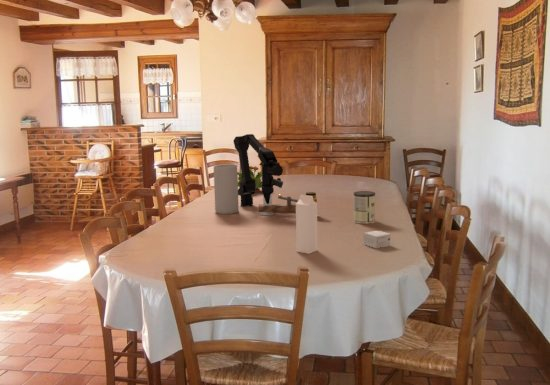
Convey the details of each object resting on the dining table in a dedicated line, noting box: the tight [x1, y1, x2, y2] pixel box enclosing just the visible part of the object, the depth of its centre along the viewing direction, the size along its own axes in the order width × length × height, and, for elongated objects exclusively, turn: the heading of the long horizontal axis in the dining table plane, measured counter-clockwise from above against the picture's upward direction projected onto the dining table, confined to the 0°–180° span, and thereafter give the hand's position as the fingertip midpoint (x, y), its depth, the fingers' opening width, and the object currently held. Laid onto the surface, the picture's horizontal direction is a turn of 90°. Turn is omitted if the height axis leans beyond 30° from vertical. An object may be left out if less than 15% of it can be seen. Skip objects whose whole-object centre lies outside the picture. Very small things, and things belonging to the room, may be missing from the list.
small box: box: [362, 229, 391, 249], centre depth 215 cm, size 8×8×5 cm
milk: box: [295, 194, 318, 255], centre depth 206 cm, size 6×6×22 cm
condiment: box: [305, 191, 320, 217], centre depth 272 cm, size 7×8×12 cm
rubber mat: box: [259, 212, 274, 217], centre depth 280 cm, size 7×7×1 cm
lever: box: [277, 194, 299, 203], centre depth 288 cm, size 12×2×2 cm, turn 92°
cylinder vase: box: [213, 163, 240, 215], centre depth 285 cm, size 12×12×25 cm
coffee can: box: [353, 190, 376, 225], centre depth 257 cm, size 10×10×14 cm
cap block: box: [262, 194, 273, 206], centre depth 288 cm, size 4×4×5 cm
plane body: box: [258, 196, 296, 213], centre depth 288 cm, size 20×6×7 cm, turn 92°
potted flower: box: [237, 165, 262, 193], centre depth 353 cm, size 25×24×18 cm
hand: (267, 203), depth 288 cm, fingers closed on cap block, 4 cm apart
